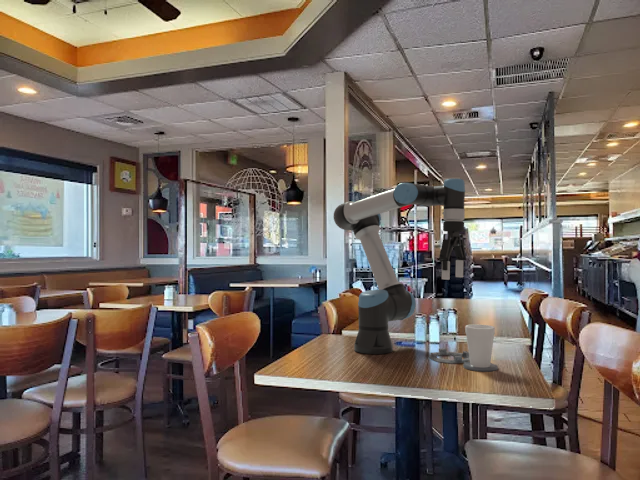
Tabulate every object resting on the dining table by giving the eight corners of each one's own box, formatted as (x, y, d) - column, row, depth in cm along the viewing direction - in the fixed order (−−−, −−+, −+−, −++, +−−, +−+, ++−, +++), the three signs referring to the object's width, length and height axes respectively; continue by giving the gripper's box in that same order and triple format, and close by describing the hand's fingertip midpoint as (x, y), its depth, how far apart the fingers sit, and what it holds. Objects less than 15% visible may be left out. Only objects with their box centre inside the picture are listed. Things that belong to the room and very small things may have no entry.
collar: (424, 359, 176) (424, 353, 176) (439, 352, 187) (438, 347, 187) (462, 365, 168) (462, 358, 168) (474, 357, 179) (474, 351, 179)
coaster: (458, 368, 163) (458, 366, 163) (469, 362, 172) (469, 359, 172) (492, 373, 157) (492, 370, 157) (501, 366, 166) (501, 364, 166)
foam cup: (467, 367, 161) (466, 328, 161) (464, 361, 170) (464, 324, 170) (497, 369, 159) (496, 329, 159) (492, 362, 168) (492, 324, 168)
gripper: (456, 222, 192) (455, 275, 192) (430, 219, 172) (429, 279, 172) (475, 221, 188) (474, 277, 188) (450, 219, 168) (449, 281, 168)
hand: (452, 278), depth 180 cm, fingers open, 13 cm apart
